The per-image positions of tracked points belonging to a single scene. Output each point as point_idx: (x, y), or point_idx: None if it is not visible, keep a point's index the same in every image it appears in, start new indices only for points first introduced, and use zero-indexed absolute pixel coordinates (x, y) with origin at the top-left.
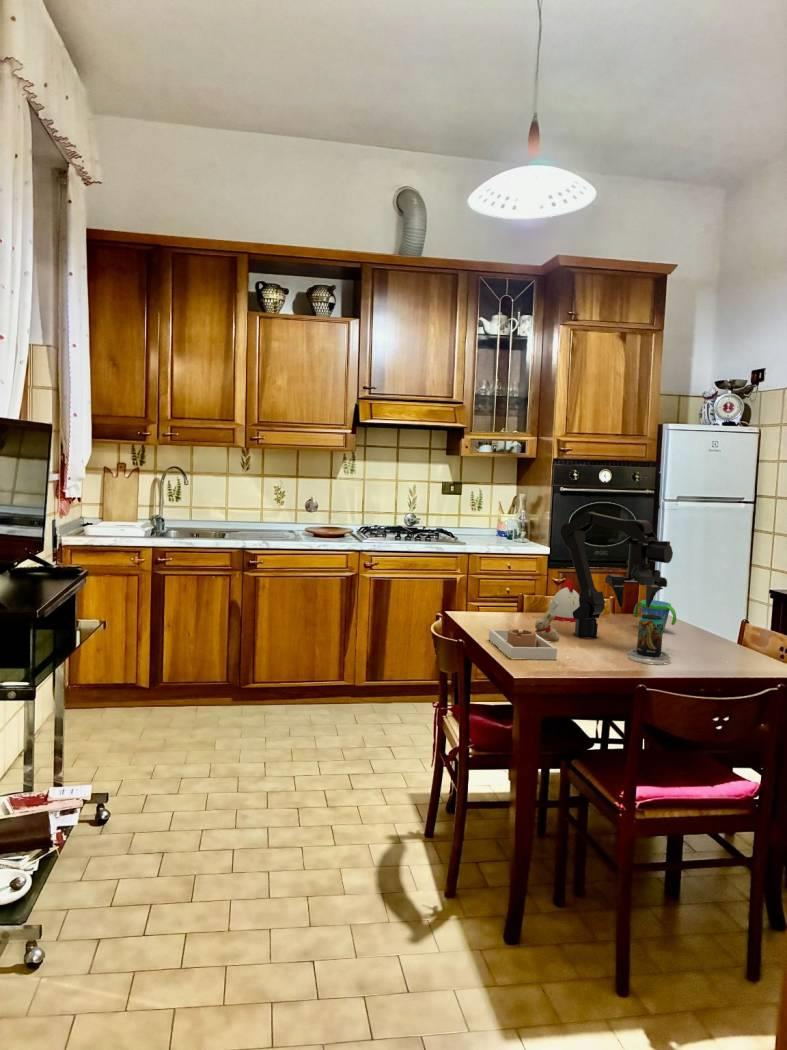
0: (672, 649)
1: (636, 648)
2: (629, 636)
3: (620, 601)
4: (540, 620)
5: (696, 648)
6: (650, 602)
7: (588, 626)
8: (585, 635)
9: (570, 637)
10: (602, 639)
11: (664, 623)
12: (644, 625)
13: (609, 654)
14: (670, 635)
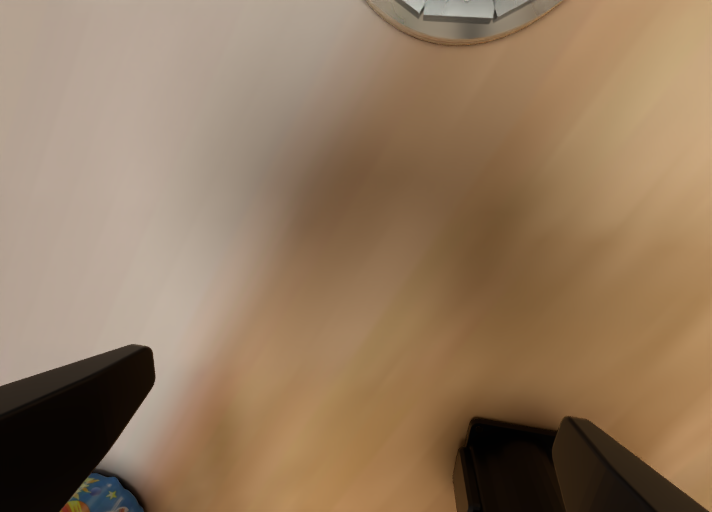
0: (167, 169)
1: (492, 17)
2: (268, 431)
3: (687, 499)
4: None
5: (30, 184)
6: (49, 376)
7: (549, 488)
8: (542, 445)
9: None
10: (452, 400)
11: None
12: None
13: (684, 47)
14: None
